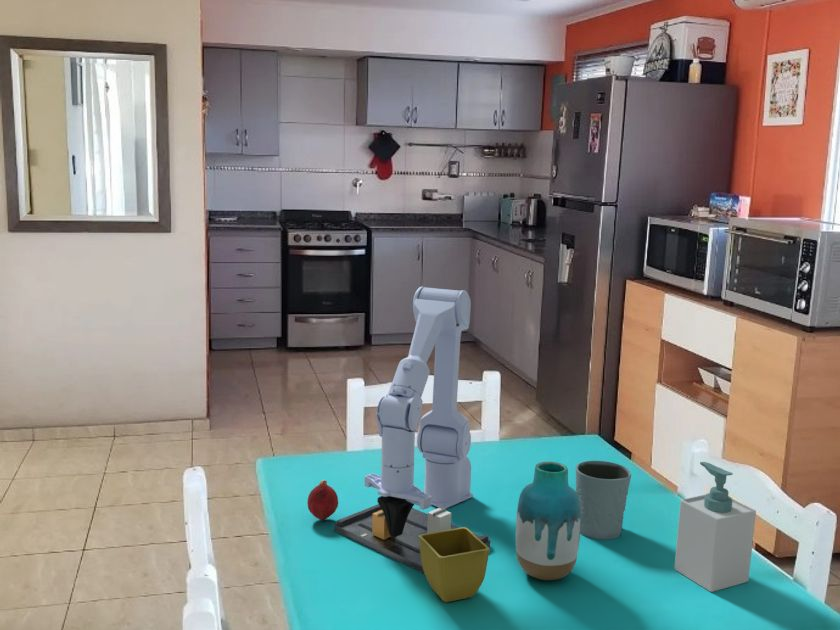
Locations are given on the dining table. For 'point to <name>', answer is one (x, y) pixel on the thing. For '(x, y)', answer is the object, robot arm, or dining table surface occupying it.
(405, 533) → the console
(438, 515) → the fader
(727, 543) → the soap bottle
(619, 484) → the grey textured cup
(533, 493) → the vase
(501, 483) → the dining table surface
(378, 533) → the fader
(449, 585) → the flower pot
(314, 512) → the onion
